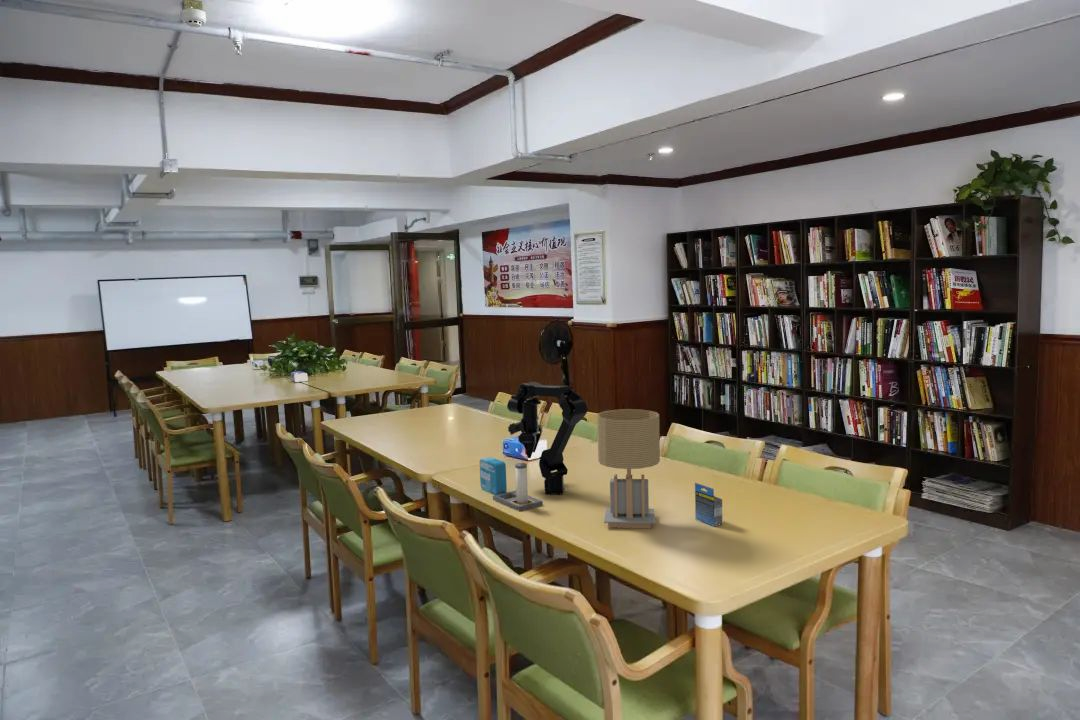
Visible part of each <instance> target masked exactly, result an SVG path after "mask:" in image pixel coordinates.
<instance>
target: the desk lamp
mask: <svg viewBox="0 0 1080 720" xmlns="http://www.w3.org/2000/svg"><path fill="white" fill-rule="evenodd" d="M596 417H597V418H596V419H597V420H596V421H597V423H596V425H597V461H598V462H599V465H602V466H604V467H607V468H613V469H620V470H621V469H622V470H623V469H624V470H626V474H625V478H618V474H614V476H613V478H610V480H609V500H610V501H609V503H610V504H609V505H610V507H606V508H605V512H604V513H605V514H604V520H603V523H604V524H608V526H607V528H608V527H618V529H621V528H620V527H623V528H622V529H652V525H653V524H655V525H656V517H655V508H650V506H649V505H650V503H649V500H650V499H649V497H650V496H649V478H645V474H641V476H640V477H641V478H633V474H632V470H635V469H636V470H639V469H644V468H645V469H646V468H652V467H654V466H657V465H658V464H659V463H660V461H661V455H660V454H661V453H660V452H661V451H660V449H661V447H660V446H661V445H660V442H661V441H660V440H661V439H660V414H659V413H658V412H657V411H653V410H648V409H647V410H646V409H636V408H635V409H633V408H623V409H613V410H606V411H601V412H599V413H598V414H597V416H596ZM626 527H627V528H626ZM630 527H632V528H630Z"/></svg>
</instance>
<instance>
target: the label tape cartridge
mask: <svg viewBox="0 0 1080 720" xmlns="http://www.w3.org/2000/svg"><path fill="white" fill-rule="evenodd" d="M694 493H695V494H694V495H695V496H694V497H695V500H694V503H695V520H696V519H697V520H696V521H698V520H700V521H699V522H701V521H702V522H701V523H704V522H705V523H704V524H707V523H708V524H707V525H709V524H710V525H709V526H711V525H713V526H712V527H714V526H715V527H717V526H716V525H719V524H722V525H723V499H722V498H720V497H718V496H715V494H714V493H715V492H714V488H711V487H709V486H706V485H703V484H700V483H697V482H694ZM719 526H720V525H719Z"/></svg>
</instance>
